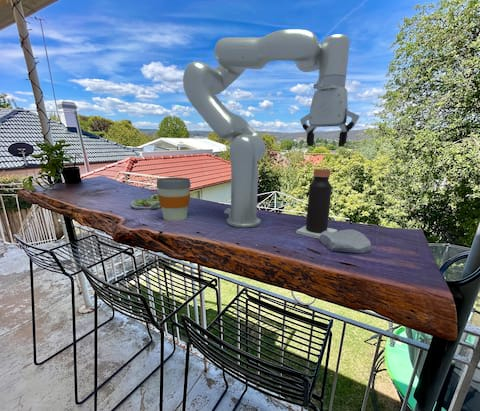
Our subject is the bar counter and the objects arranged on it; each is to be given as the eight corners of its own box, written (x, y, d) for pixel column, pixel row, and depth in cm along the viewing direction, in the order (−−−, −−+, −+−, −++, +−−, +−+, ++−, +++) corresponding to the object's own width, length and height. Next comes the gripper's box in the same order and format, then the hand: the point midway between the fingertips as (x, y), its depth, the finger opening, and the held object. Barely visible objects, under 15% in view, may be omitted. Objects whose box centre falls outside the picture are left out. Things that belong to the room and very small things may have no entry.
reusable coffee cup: (179, 223, 87) (178, 182, 84) (151, 219, 91) (148, 180, 88) (197, 215, 99) (196, 178, 95) (171, 212, 103) (169, 176, 99)
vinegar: (330, 229, 81) (336, 169, 76) (322, 235, 76) (329, 170, 71) (310, 225, 85) (315, 168, 80) (302, 230, 80) (307, 169, 75)
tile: (296, 233, 80) (296, 230, 80) (308, 226, 87) (309, 223, 87) (326, 240, 74) (326, 237, 73) (337, 232, 81) (337, 229, 81)
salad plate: (172, 209, 107) (172, 199, 106) (129, 212, 101) (128, 202, 100) (170, 201, 125) (169, 192, 124) (132, 203, 119) (131, 194, 118)
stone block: (373, 259, 66) (353, 239, 75) (377, 244, 64) (356, 225, 73) (332, 261, 65) (317, 241, 74) (335, 247, 63) (319, 227, 72)
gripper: (298, 87, 73) (293, 145, 77) (359, 77, 62) (351, 146, 66) (308, 92, 78) (304, 146, 82) (366, 84, 68) (358, 146, 72)
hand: (325, 146), depth 74 cm, fingers open, 9 cm apart
